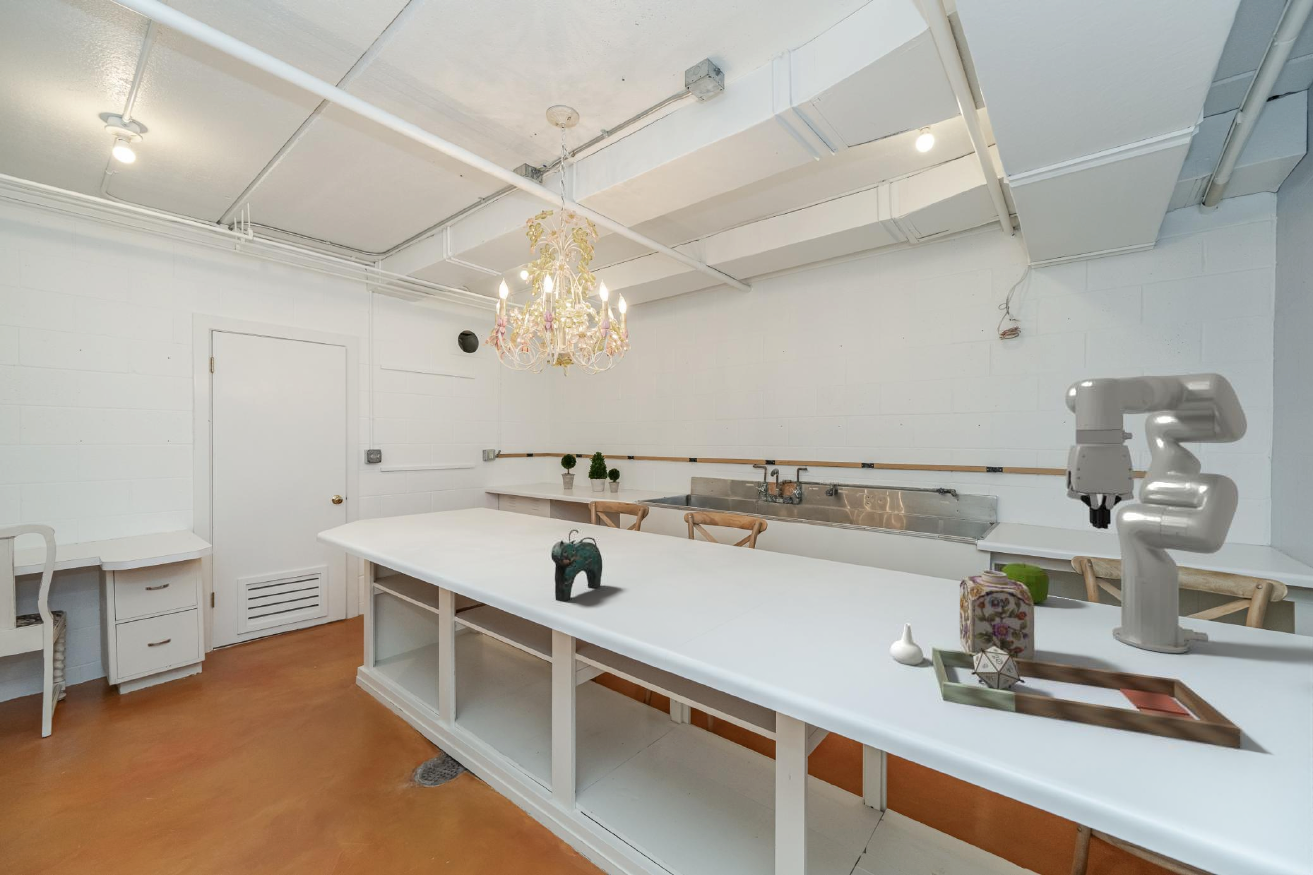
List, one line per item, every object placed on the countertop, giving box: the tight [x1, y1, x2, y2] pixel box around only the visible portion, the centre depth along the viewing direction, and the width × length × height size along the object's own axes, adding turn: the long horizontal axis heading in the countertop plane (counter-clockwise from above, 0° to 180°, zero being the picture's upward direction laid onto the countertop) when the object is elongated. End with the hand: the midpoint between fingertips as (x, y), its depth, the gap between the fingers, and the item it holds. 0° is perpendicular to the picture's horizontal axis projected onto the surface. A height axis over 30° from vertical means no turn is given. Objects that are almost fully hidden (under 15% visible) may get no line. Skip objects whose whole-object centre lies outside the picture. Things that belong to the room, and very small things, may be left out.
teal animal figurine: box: [550, 529, 603, 603], centre depth 159 cm, size 20×6×20 cm, turn 147°
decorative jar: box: [959, 570, 1035, 661], centre depth 113 cm, size 12×12×18 cm
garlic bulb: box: [889, 622, 924, 666], centre depth 111 cm, size 6×6×8 cm
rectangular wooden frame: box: [931, 647, 1241, 749], centre depth 95 cm, size 40×17×3 cm, turn 68°
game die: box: [969, 641, 1026, 690], centre depth 98 cm, size 9×8×10 cm
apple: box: [1001, 562, 1050, 604], centre depth 149 cm, size 11×11×11 cm
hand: (1100, 527), depth 107 cm, fingers closed
